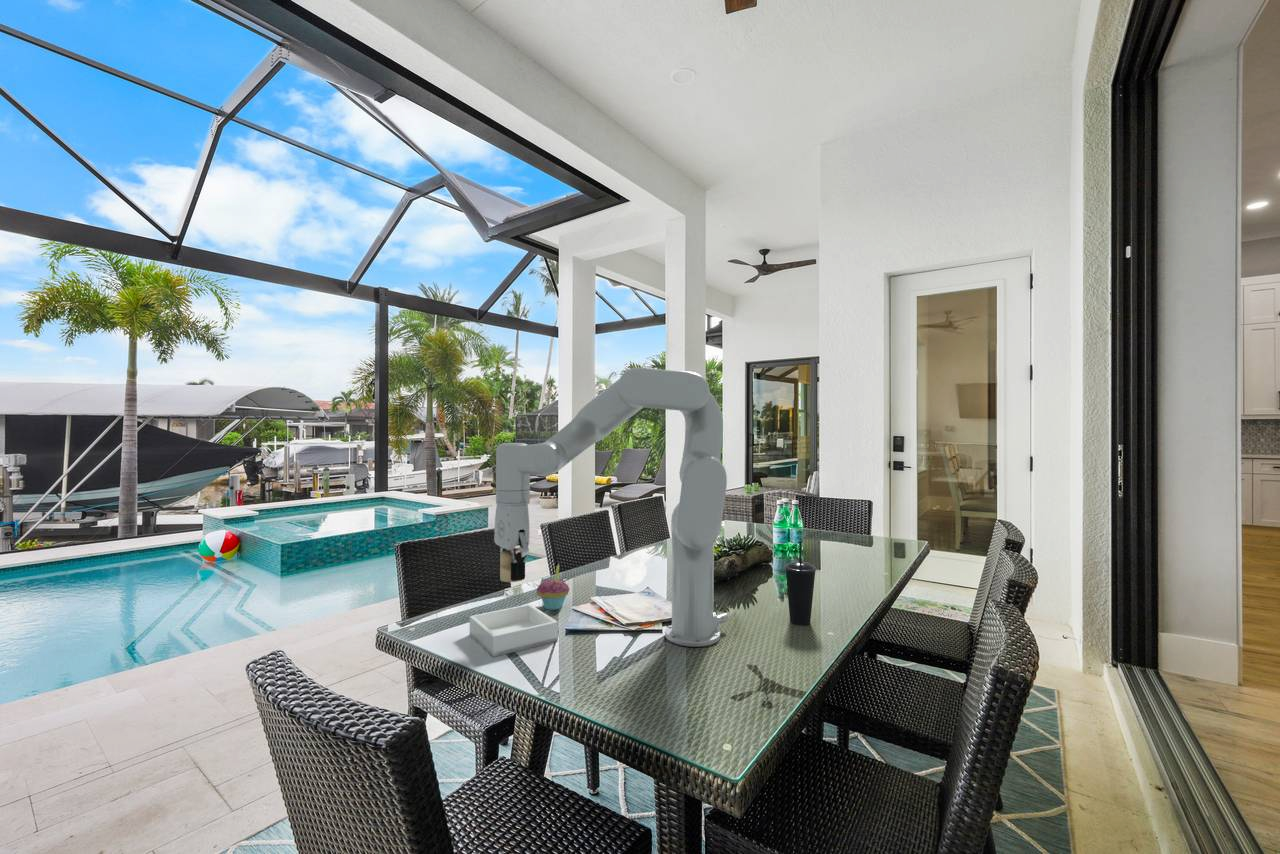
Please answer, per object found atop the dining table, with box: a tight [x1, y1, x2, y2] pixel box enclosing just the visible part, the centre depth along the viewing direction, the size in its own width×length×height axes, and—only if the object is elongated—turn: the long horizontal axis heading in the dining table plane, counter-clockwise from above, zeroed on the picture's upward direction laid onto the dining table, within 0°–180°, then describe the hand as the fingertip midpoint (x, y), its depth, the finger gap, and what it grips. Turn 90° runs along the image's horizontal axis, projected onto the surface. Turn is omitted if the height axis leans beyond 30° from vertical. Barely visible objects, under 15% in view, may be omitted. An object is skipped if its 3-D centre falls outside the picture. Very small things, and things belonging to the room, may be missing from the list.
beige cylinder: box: [499, 550, 524, 583], centre depth 127 cm, size 5×5×6 cm
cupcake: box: [536, 562, 570, 610], centre depth 148 cm, size 9×8×12 cm
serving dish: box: [469, 603, 559, 658], centre depth 127 cm, size 15×15×4 cm
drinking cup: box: [783, 540, 817, 626], centre depth 138 cm, size 8×8×20 cm
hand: (512, 575), depth 127 cm, fingers closed on beige cylinder, 5 cm apart
